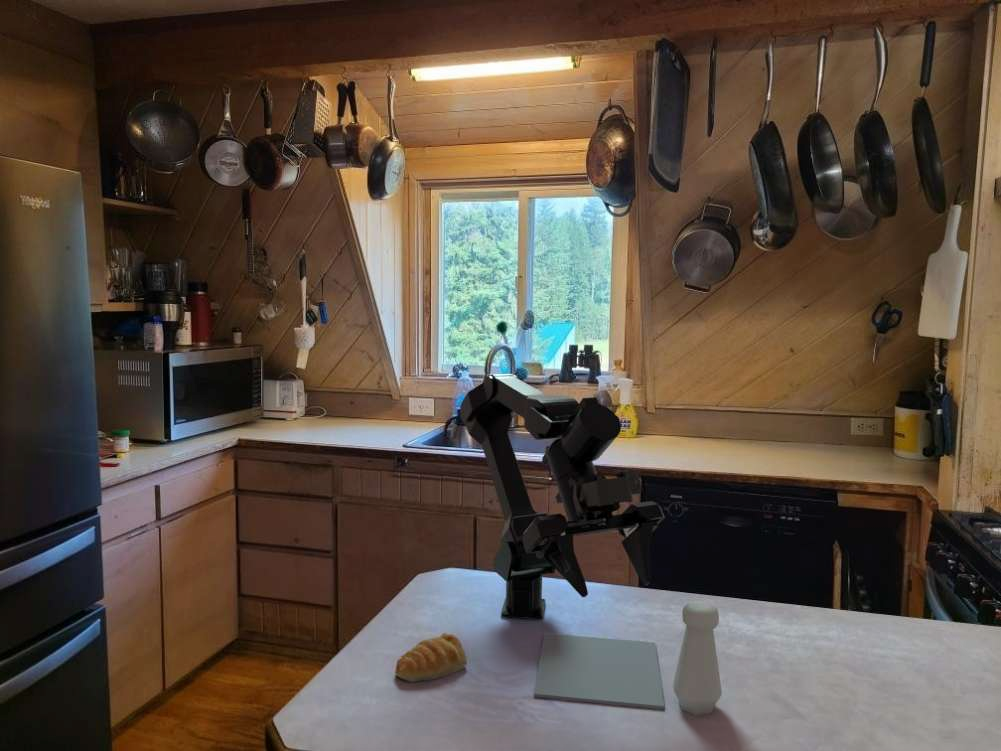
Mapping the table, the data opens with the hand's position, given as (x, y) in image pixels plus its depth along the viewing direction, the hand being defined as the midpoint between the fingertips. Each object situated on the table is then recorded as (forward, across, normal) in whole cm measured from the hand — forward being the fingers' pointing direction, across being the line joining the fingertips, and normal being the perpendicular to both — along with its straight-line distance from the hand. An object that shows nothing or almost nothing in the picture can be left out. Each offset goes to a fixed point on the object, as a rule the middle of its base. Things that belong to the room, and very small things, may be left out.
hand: (617, 589), depth 89 cm
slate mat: (+6, +1, +13) cm, 15 cm away
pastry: (0, -19, +21) cm, 28 cm away
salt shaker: (+15, +8, +5) cm, 17 cm away
